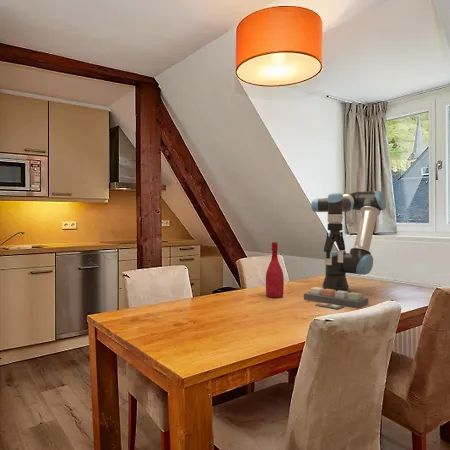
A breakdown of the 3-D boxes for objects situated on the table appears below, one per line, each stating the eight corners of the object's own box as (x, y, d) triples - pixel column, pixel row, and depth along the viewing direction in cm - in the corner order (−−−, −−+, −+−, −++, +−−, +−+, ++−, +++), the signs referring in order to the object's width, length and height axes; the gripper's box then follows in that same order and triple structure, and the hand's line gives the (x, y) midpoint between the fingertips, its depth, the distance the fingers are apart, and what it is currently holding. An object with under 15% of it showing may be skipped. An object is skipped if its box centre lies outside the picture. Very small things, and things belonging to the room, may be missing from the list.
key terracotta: (322, 296, 205) (322, 290, 205) (326, 294, 209) (327, 288, 209) (331, 297, 202) (331, 291, 202) (335, 295, 206) (335, 289, 206)
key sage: (347, 300, 196) (347, 293, 196) (352, 298, 200) (352, 292, 200) (357, 301, 193) (357, 295, 192) (361, 299, 196) (361, 293, 196)
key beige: (334, 298, 201) (334, 291, 201) (339, 296, 204) (339, 290, 204) (343, 299, 197) (343, 293, 197) (348, 297, 201) (348, 291, 201)
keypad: (303, 299, 209) (303, 293, 209) (315, 295, 218) (315, 290, 218) (358, 308, 189) (358, 302, 189) (368, 303, 198) (368, 298, 197)
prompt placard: (315, 305, 194) (315, 304, 194) (321, 303, 199) (321, 301, 199) (337, 309, 186) (337, 307, 186) (343, 307, 191) (343, 305, 191)
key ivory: (310, 294, 210) (310, 288, 210) (315, 292, 214) (315, 287, 214) (318, 295, 207) (318, 289, 207) (323, 294, 210) (323, 288, 210)
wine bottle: (283, 294, 221) (283, 241, 220) (284, 298, 211) (284, 242, 211) (265, 294, 222) (265, 241, 221) (265, 298, 212) (265, 242, 212)
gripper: (330, 223, 193) (330, 266, 193) (351, 222, 212) (351, 262, 212) (317, 223, 198) (316, 265, 198) (338, 222, 216) (338, 261, 217)
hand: (334, 263), depth 205 cm, fingers open, 13 cm apart
